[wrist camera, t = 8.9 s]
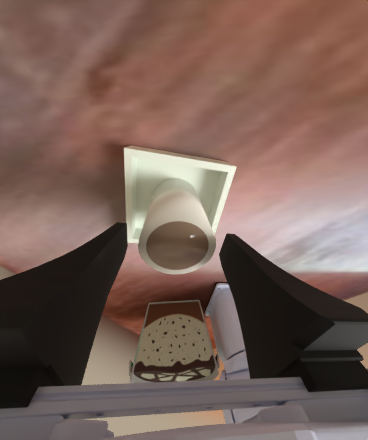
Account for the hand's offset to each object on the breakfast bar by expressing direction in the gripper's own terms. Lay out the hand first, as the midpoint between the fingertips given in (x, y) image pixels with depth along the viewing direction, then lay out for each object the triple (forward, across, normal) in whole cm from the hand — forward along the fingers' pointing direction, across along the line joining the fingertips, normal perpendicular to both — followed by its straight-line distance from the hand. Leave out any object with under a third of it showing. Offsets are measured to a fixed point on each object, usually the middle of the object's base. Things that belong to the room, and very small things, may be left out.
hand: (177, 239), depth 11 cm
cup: (+7, 0, 0) cm, 7 cm away
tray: (+8, 0, 0) cm, 8 cm away
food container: (+8, -3, +23) cm, 24 cm away
